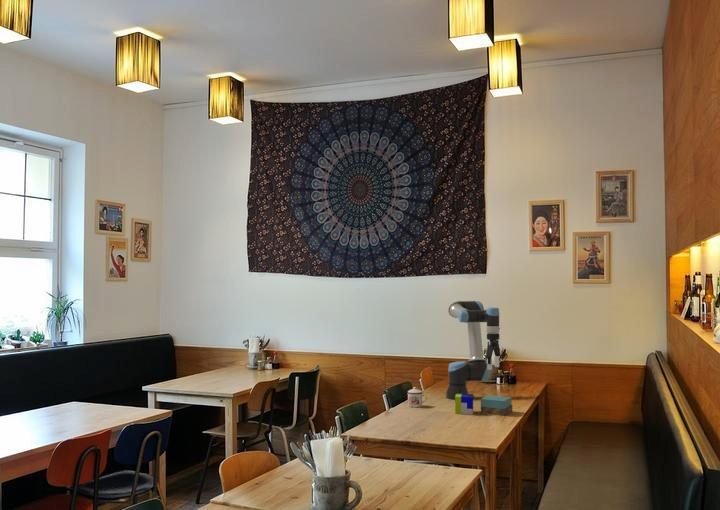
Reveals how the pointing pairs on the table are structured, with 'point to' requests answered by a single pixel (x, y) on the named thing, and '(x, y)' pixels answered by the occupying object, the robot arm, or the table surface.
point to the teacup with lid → (415, 397)
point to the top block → (496, 402)
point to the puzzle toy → (464, 404)
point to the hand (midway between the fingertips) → (493, 368)
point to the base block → (496, 411)
